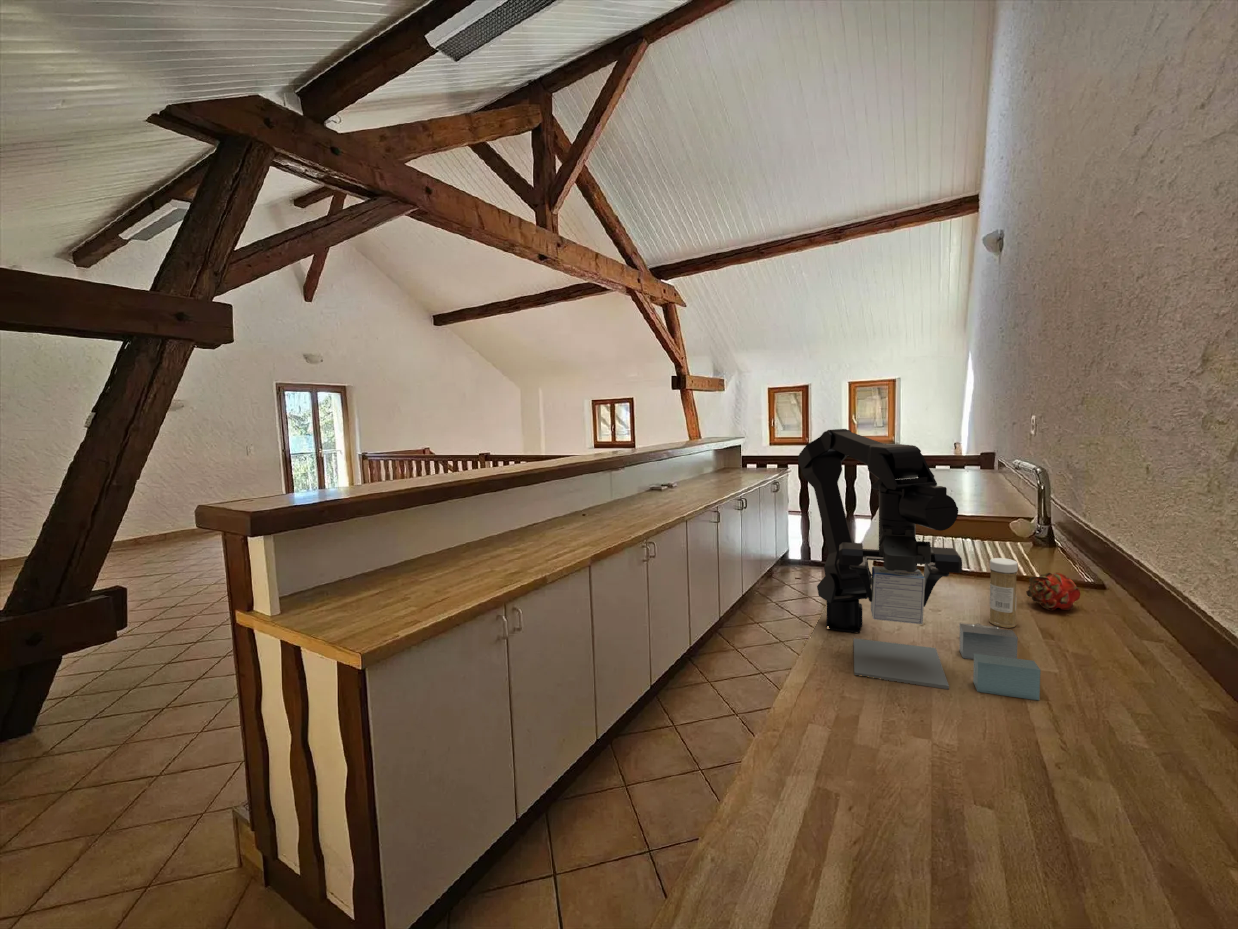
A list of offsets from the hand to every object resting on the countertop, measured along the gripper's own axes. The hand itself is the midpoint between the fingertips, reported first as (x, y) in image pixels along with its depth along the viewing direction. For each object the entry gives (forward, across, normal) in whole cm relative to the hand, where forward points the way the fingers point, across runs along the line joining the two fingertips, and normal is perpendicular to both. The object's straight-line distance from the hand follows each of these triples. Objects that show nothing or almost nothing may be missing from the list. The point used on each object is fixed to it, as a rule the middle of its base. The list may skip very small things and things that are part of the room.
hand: (896, 603), depth 92 cm
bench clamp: (+11, +15, +4) cm, 19 cm away
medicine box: (+3, 0, 0) cm, 3 cm away
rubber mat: (+11, 0, 0) cm, 11 cm away
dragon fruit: (+11, +33, +37) cm, 51 cm away
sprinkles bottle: (+11, +21, +24) cm, 34 cm away
